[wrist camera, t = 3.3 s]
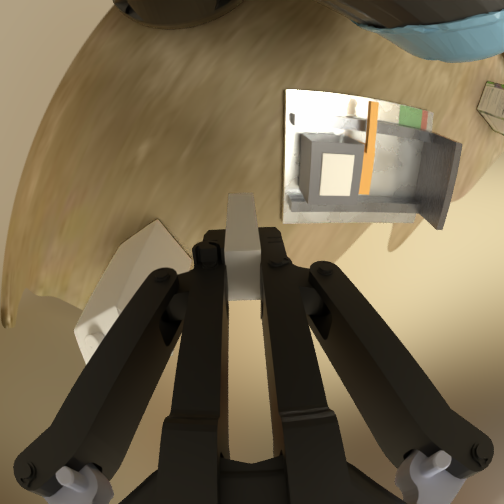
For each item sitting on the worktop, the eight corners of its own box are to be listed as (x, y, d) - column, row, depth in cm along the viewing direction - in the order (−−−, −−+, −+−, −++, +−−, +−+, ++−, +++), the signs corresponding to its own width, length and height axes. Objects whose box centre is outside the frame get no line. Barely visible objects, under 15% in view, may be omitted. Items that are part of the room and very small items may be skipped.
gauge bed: (284, 89, 24) (298, 89, 18) (427, 111, 25) (465, 122, 19) (281, 219, 33) (291, 252, 27) (409, 218, 33) (437, 247, 27)
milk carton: (192, 259, 35) (167, 393, 19) (153, 280, 37) (117, 403, 21) (158, 217, 32) (99, 345, 16) (120, 244, 33) (58, 363, 18)
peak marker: (353, 98, 23) (367, 100, 20) (367, 100, 23) (382, 103, 20) (346, 184, 29) (357, 196, 26) (359, 185, 29) (371, 196, 26)
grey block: (301, 133, 25) (312, 141, 22) (347, 136, 26) (365, 145, 22) (298, 188, 29) (308, 205, 25) (342, 188, 29) (357, 205, 25)
